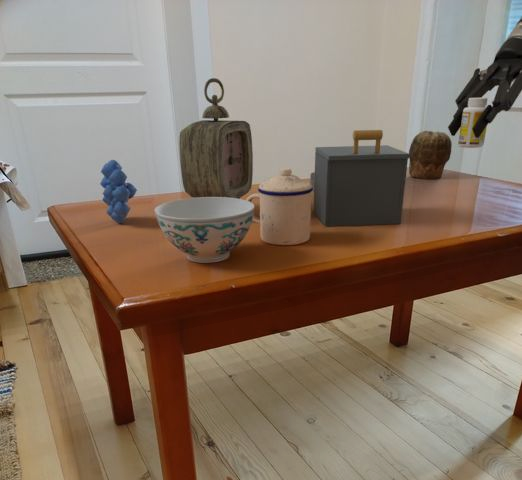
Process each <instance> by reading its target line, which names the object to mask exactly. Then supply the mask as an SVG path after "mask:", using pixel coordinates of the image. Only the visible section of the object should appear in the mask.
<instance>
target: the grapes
mask: <svg viewBox="0 0 522 480" xmlns="http://www.w3.org/2000/svg"><path fill="white" fill-rule="evenodd" d="M122 169H123V166H122V165H121V164H120V163H119V162H118V161H117V160H115V159H111V160H108V162H106V163H104V165H103V166H102V168H101V171H100V173H101V174H102V175H103V178H102V179H101V182H100V183H99V184H100V186H101V187H102V188H103V189H104V190H103V192H102V195H103V197H102V201H103V202H104V203H105V204H106V205H107V206H108V208H107V210H106V212H105V213H106V214H107V215H108V216H109V217H110V218H111V219H112V220H113V221H114V222H115V223H116V224H122V223H124V222H125V221H126V219H127V217H128V214H129V213H130V210H131V206H130V205H129V204H128V202H129V200H130V199H133V198H134V197H135V195H136V194H137V192H138V189H137V188H136V187H135V186H134V185H133V184H132V183H130V182H126V181H127V179H128V176H127V175H126V173H125V172H124V171H123V170H122Z"/></svg>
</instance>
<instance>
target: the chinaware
mask: <svg viewBox="0 0 522 480" xmlns="http://www.w3.org/2000/svg"><path fill="white" fill-rule="evenodd" d="M255 206H256V205H255V204H254V203H253V202H252V201H251V202H249V201H247V199H243V198H240V199H237V198H228V197H197V198H193V197H190V198H189V197H188V198H181V199H176V200H175V199H174V200H170V201H167V202H163V203H161V204H159V205H157V206H156V207H155V208H154V214H155V217H156V220H157V224H158V225H159V227H160V229H161V231H162V233H163V235H164V236H165V238H166V239H167V240H168V241H169V242H170V243H171V244H172V245H173V246H174V247H175V248H176V249H178V250H179V251H180V252H183V253H184V254H186V259H187V260H188V261H191V262H194V263H198V264H199V263H201V264H209V263H211V264H213V263H218V262H223V261H225V260H227V259H228V258H230V256H231V254H230V252H231V251H233V250H234V249H236V248H237V247H238V246H239V245H240V244H241V243H242V242H243V240H244V239H245V238H246V236H247V235H248V232H249V230H250V228H251V225H252V223H253V215H255V209H256V207H255Z"/></svg>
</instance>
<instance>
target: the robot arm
mask: <svg viewBox="0 0 522 480" xmlns="http://www.w3.org/2000/svg"><path fill="white" fill-rule="evenodd" d="M497 86H498V87H497ZM495 87H497V89H496V92H495V95H494V99H493V100H492V101H491V104H487V105H486V106H485V107H486V109H485V110H484V112H483V113H482V115H481V116H480V118H479V119H478V121H477V122H476V124H475V125H474V127H473V128H472V130H473V132H474V135H475V137H476V138H479V136H480V135H481V133H482V132H483V130H484V129H485V128H486V126H487V127H488V125H489V124H491V123H492V122H493V121H494V120H495V118H496V117H497V115H498V114H499V113H501V112H503V111H504V112H508V111H510V110H511V108H512V107H513V106H514V104H515V102H516V101H517V99H518V97H519V96H520V94H521V93H522V16H521V17H520V19H519V20H518V22H517V23H516V24H515V26H514V27H513V29H512V30H511V31H510V33H509V35H508V36H507V38H506V39H505V41H504V42H503V43H502V45H501V46H500V47H499V49H498V50H497V52H496V54H495V56H494V59H493V61H492V63H491V64H490V65H489V66H488V67H487V68H485V69H482V70H481V68H480V67H478V68H476V69H474V72H473V74H472V77H471V78H470V79H469V81H468V83H466V85H465V86H464V88H463V89H462V90H461V92H460V93H459V95H458V96H457V98H456V99H455V101H454V103H455V104H456V106H457V110H456V111H455V113H454V114H453V119H452V120H451V122H450V123H449V125H448V126H447V129H448V131H449V133H450V136H452V137H455V136H456V134H457V133H458V131H460V129H461V122H462V115H463V110H464V108H466V107H468V100H469V98H484V96H485V95H486V94H487V93H488V92H491V91H492V90H493V89H494V88H495ZM486 129H487V128H486Z"/></svg>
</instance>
